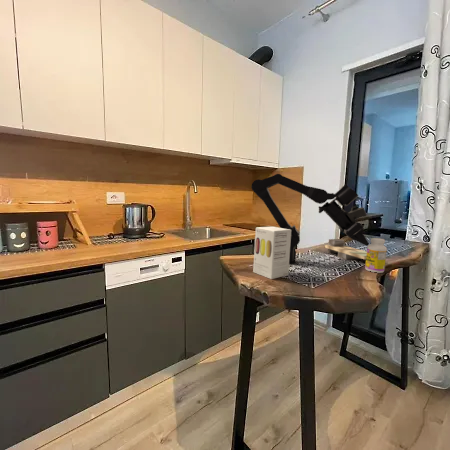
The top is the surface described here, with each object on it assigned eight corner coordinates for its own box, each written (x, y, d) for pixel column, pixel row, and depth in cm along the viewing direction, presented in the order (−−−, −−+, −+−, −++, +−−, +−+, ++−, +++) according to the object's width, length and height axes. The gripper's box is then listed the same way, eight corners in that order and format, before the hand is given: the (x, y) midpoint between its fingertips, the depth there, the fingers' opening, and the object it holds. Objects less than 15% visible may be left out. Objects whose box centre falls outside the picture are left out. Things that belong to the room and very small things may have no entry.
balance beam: (380, 263, 112) (381, 248, 111) (362, 265, 109) (364, 249, 108) (339, 251, 135) (340, 238, 134) (324, 252, 131) (325, 239, 131)
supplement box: (252, 272, 94) (254, 227, 92) (269, 268, 100) (271, 225, 98) (271, 279, 87) (274, 230, 85) (289, 275, 92) (292, 229, 90)
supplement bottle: (361, 268, 104) (364, 237, 103) (376, 268, 105) (379, 237, 103) (372, 273, 98) (375, 240, 96) (388, 273, 98) (392, 240, 97)
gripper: (359, 200, 92) (390, 232, 90) (349, 199, 109) (375, 226, 108) (333, 221, 95) (364, 252, 93) (328, 217, 112) (353, 243, 111)
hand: (364, 242), depth 101 cm, fingers open, 9 cm apart
